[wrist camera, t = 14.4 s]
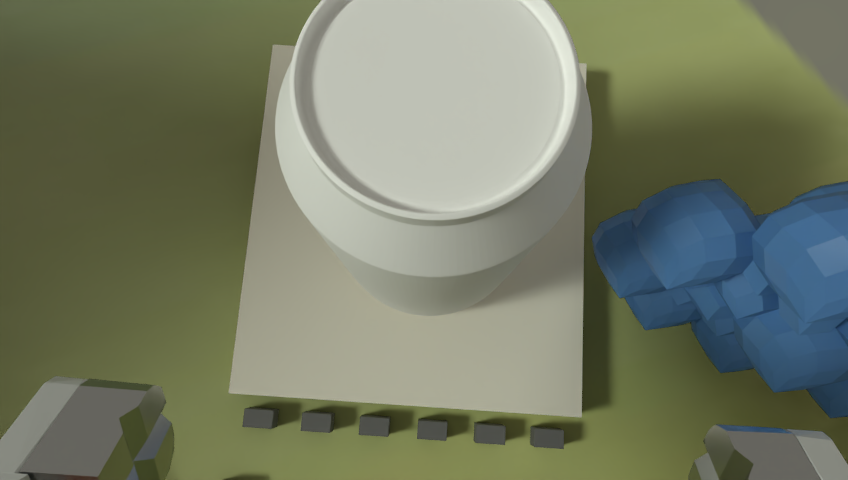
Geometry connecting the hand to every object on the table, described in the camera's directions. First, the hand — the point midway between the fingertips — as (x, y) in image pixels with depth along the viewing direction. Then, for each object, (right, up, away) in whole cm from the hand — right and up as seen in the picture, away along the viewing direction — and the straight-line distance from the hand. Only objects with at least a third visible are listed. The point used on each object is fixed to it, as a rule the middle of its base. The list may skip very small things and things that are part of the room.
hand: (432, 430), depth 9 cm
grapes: (+11, 0, +14) cm, 17 cm away
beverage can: (0, +3, +13) cm, 13 cm away
